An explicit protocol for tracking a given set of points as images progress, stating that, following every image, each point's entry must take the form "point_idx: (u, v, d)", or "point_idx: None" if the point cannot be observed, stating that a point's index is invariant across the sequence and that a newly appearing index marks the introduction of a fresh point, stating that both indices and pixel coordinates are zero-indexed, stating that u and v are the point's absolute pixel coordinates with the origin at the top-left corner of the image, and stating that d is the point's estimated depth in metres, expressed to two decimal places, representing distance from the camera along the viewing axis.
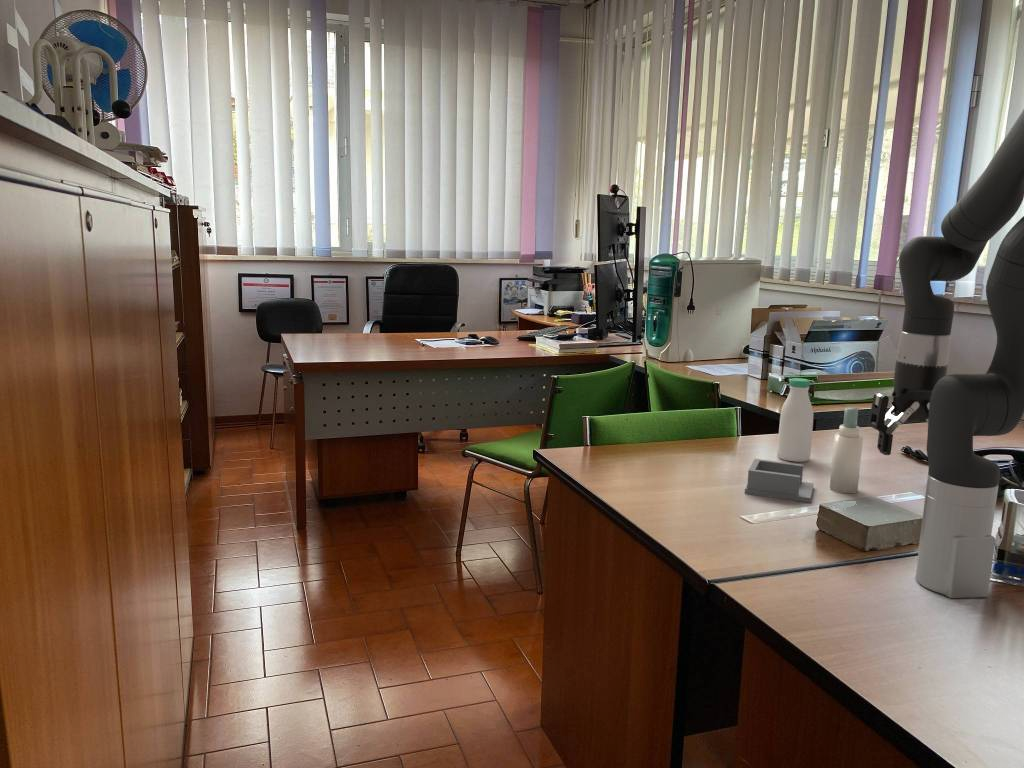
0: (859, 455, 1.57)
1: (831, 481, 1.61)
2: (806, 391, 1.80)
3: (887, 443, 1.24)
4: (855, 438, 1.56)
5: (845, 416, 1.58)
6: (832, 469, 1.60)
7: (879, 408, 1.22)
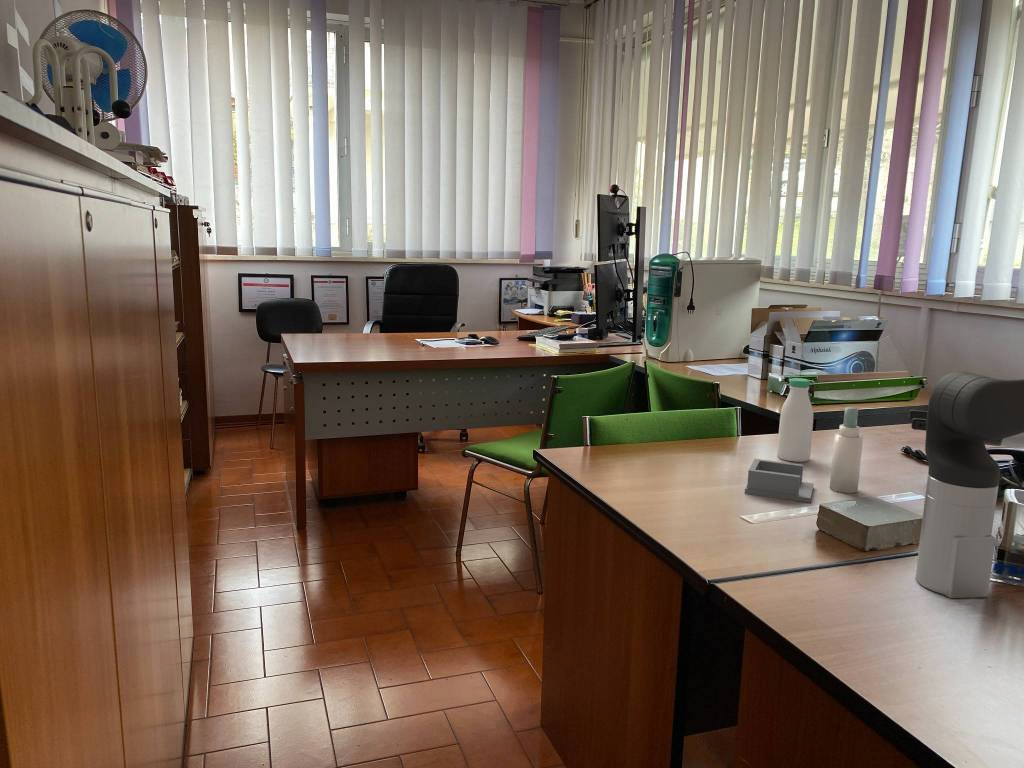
0: (859, 455, 1.57)
1: (831, 481, 1.61)
2: (806, 391, 1.80)
3: (923, 429, 1.49)
4: (855, 438, 1.57)
5: (845, 416, 1.58)
6: (832, 469, 1.60)
7: None
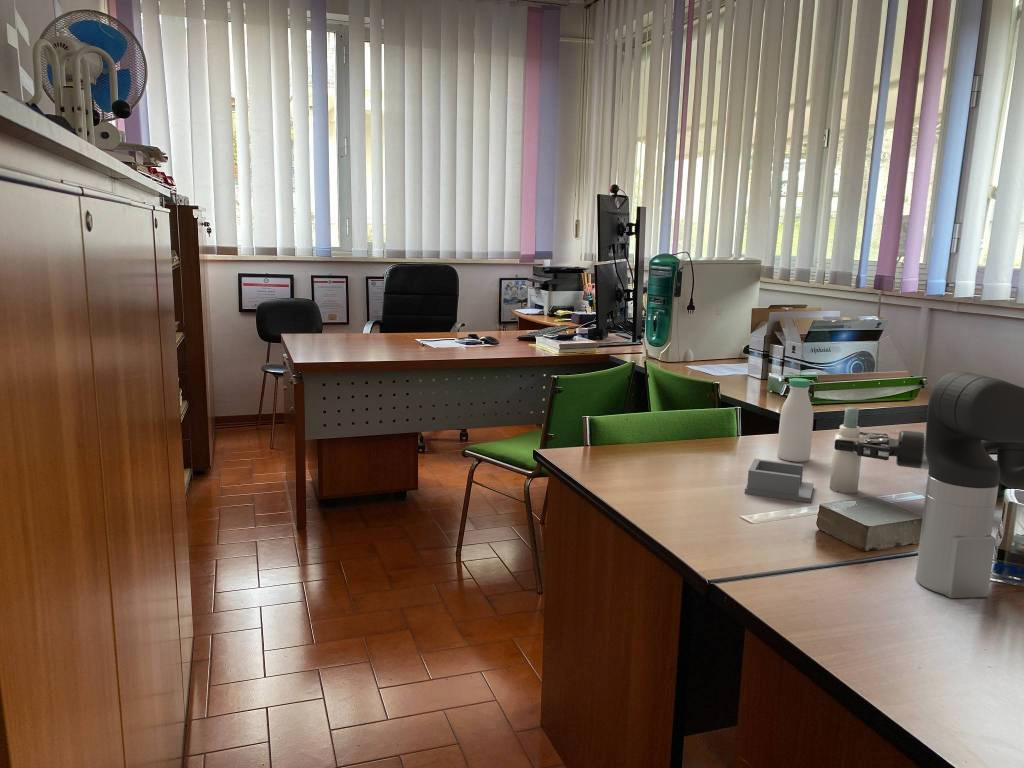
0: None
1: (831, 481, 1.61)
2: (806, 391, 1.80)
3: (845, 449, 1.57)
4: (856, 438, 1.56)
5: (845, 416, 1.58)
6: (832, 469, 1.60)
7: (876, 457, 1.51)
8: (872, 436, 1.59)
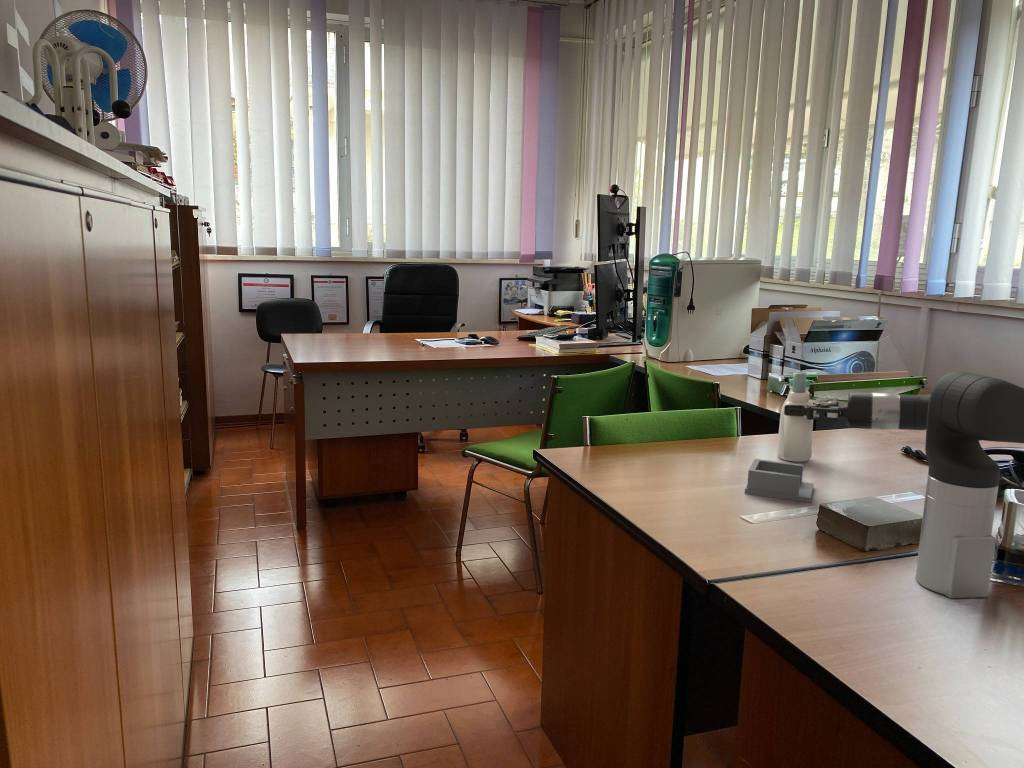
0: (810, 420, 1.55)
1: (784, 449, 1.58)
2: None
3: (795, 414, 1.54)
4: (805, 403, 1.54)
5: (793, 381, 1.56)
6: (784, 436, 1.58)
7: (825, 419, 1.49)
8: (822, 400, 1.56)
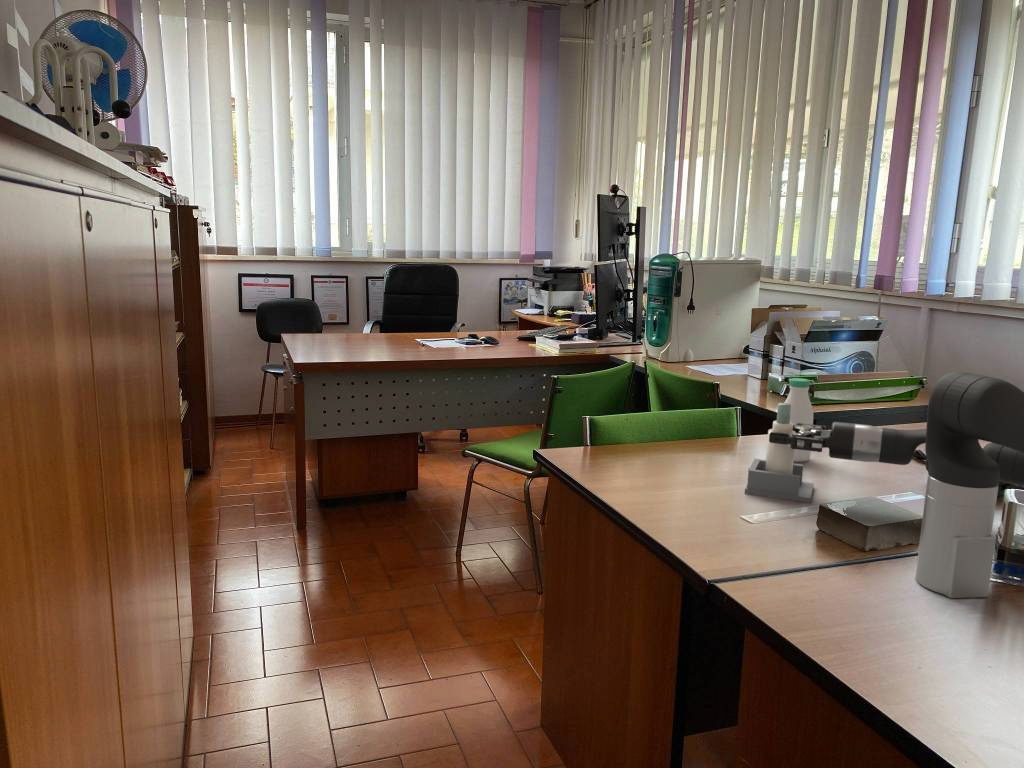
0: (792, 451, 1.56)
1: None
2: (806, 391, 1.80)
3: (779, 442, 1.54)
4: None
5: (778, 412, 1.56)
6: (766, 465, 1.59)
7: (810, 449, 1.49)
8: (806, 427, 1.57)
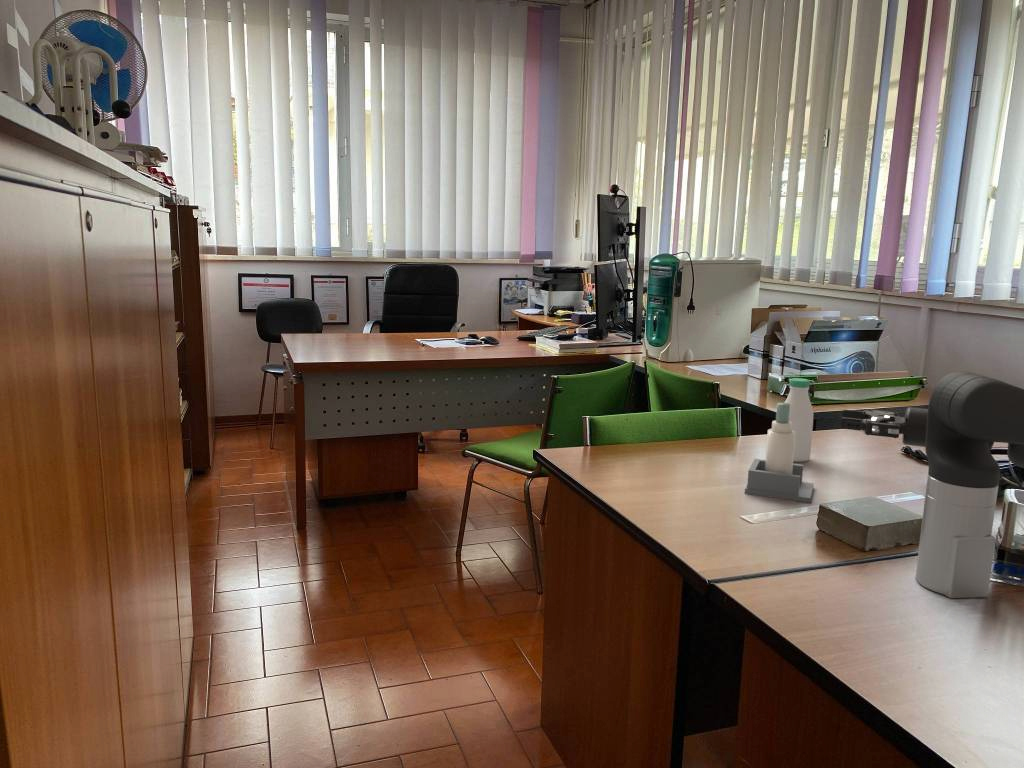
0: (791, 451, 1.56)
1: None
2: (806, 391, 1.80)
3: (852, 428, 1.48)
4: (787, 434, 1.55)
5: (777, 411, 1.57)
6: (765, 465, 1.59)
7: (886, 435, 1.43)
8: (878, 413, 1.52)
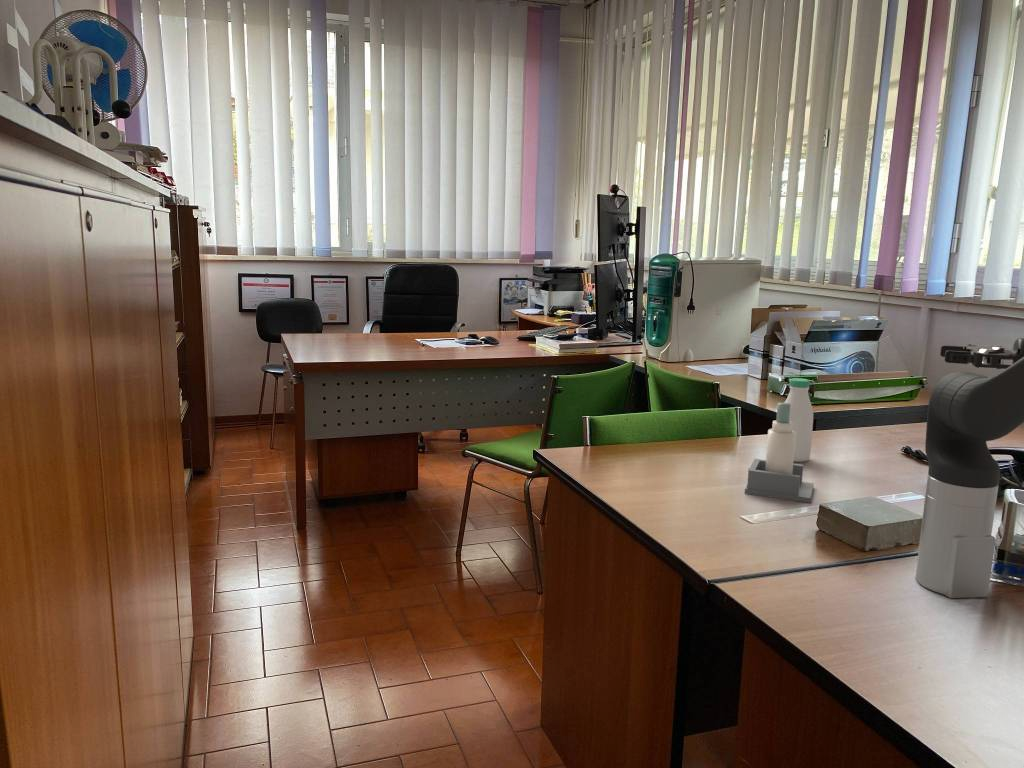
0: (791, 451, 1.56)
1: None
2: (806, 391, 1.80)
3: (957, 362, 1.36)
4: (787, 434, 1.55)
5: (777, 411, 1.57)
6: (766, 465, 1.59)
7: (998, 367, 1.32)
8: (983, 346, 1.40)
